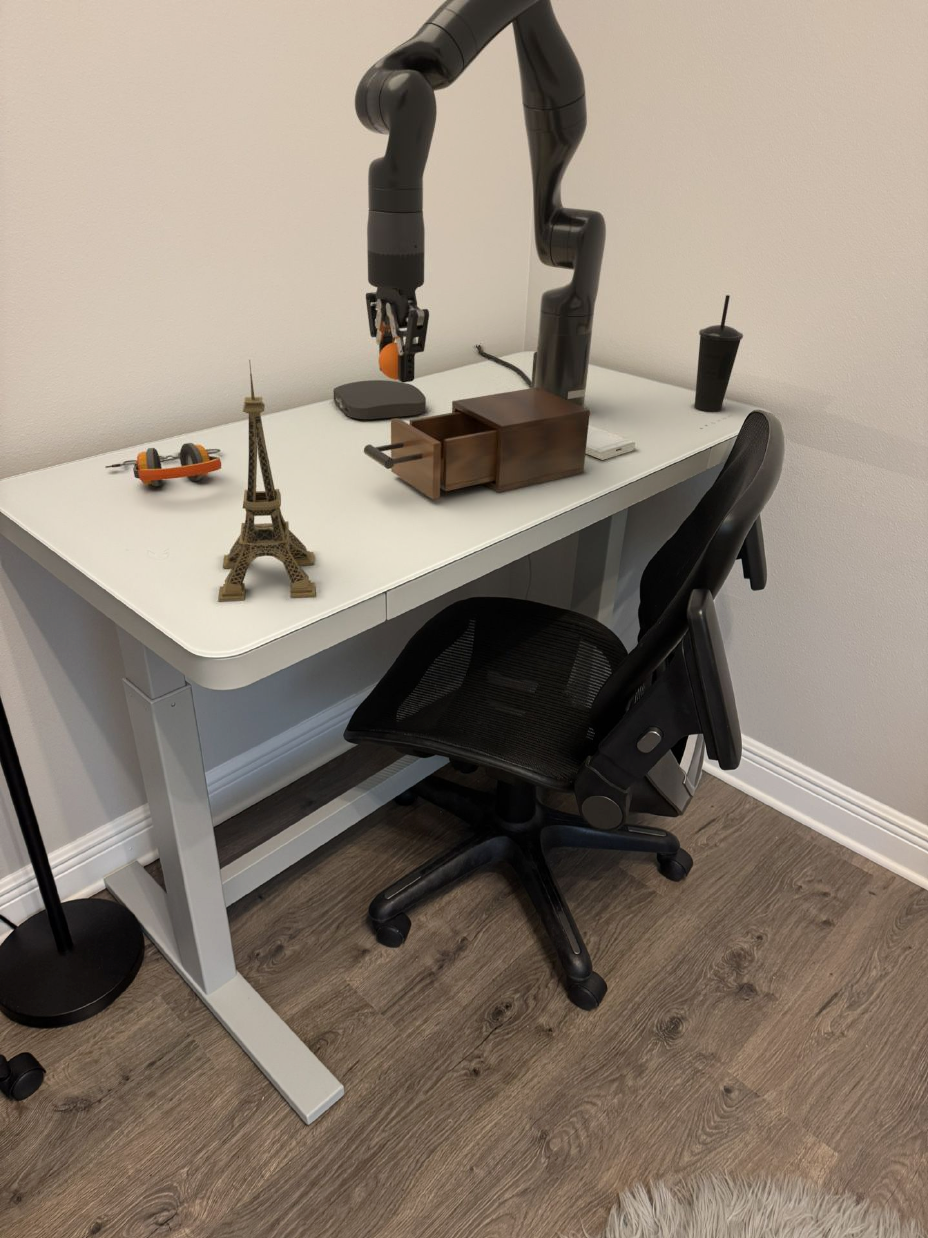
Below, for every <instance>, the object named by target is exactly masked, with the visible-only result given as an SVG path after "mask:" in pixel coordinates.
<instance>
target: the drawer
mask: <svg viewBox="0 0 928 1238" xmlns="http://www.w3.org/2000/svg"><path fill="white" fill-rule="evenodd" d="M497 449H498V430H496V429H494V428H493V427H491V426H489V425H487V424H485V423H483V422H481V421H479V420H477V419H475V418H473V417H471V416H469V415H467V414H465V413H463V412H461V411H459V412H453V413H452V412H447V413H442V414H437V415H431V416H425V417H419V418H412V419H409V423H408V422H406V421H404V420H403V419H400V418H399V417H394V418H391V419H390V444H386V445H379V446H373V445H372V444H366V445H365V446H364V448H363V454H364V455H366V456H367V457H368V458H370V459H372V460H373V461H375V462H376V463H378V464H379V465H381V466H382V467H384V468H385V469H387V470H390V471H391V473H392V474H394V475H396V476H397V477H398V478H400V479H402V481H405V482H406V483H407V484H409V485H411V486H412V487H413V488H415V489H416V490H418V491H420V492H421V493H423V494H424V495H426V496H427V497H428V498H430V499H432V500H436V499H440V498H441V490H443V491H445V492H448V491H452V490H453V491H454V490H458V489H462V488H466V487H471V486H475V485H480V484H483V483H485V482H490V481H494V480H496V466H497ZM386 451H390V456H389V455H387V454H385V452H386Z"/></svg>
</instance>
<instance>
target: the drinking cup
mask: <svg viewBox="0 0 928 1238" xmlns="http://www.w3.org/2000/svg"><path fill="white" fill-rule="evenodd" d="M730 298H731V295H729V294H726V295H725V298H724V304H723V310H722V315H721V321H720V324H714V325H710V326H708V327H705V328H701V329H699V332H698V335H699V345H698V346H699V347H698V360H697V370H696V381H695V383H696V385H695V396H694V408H695V409H697V410H699V411H702V412H707V413H708V412H709V413H714V412H720V411H721V410H722V407H723V404H724V399H725V397H726V393H727V389H728V386H729V382H730V379H731V376H732V371H733V369H734V364H735V361H736V358H737V354H738V350H739V347H740V344H741V341H742V339H743V337H744V334H743V333H742V332H741V331H738V329H736V328H734V327H732V326H729V325H726V320H727V315H728V308H729V303H730Z"/></svg>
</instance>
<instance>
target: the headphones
mask: <svg viewBox="0 0 928 1238" xmlns="http://www.w3.org/2000/svg"><path fill="white" fill-rule="evenodd" d="M217 453H221V449H219V448H207V449H206V448H205V447H204V446H203V445H201V444H194V443H193V442H186V443H183V444H182V445H181V447H180V451H179V452H178V453H177V455H178V456H177V455H176V456H173V455H171V454H169V455H166V456H165V457H164V456H162V455H159V452H158V450H157V449H156V448H155V447H148V448H147V449H146V450H145V451H141V452H138V454H137V456H136V459H129V460H124V461H123V463H113V464H111V465H105V467H104V468H105V469H109V468H113V469H114V468H120V467H123V466H126V464H127V463H133V462H134V465H133V468H132V470H133V475H134V478H136V479H139V480H140V481H141V482H142V483H143V484H144V485H152V486H153V487H156V488H157V487H162V484H163V480H172V479H173V480H174V479H180V478H188V479H189V480H190V481H192V482H196V481H200V480H202V478H203V477H205V476H207V475H209V473H213V472H217V471H219V470H221V469H222V461H221V458H220V457H219V456H213V455H212V454H217ZM161 459H162V460H161ZM174 460H180V461H179V462H180V465H181V466H173V467H165V468H162V463H164V462H169V461H174Z"/></svg>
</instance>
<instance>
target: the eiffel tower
mask: <svg viewBox="0 0 928 1238" xmlns="http://www.w3.org/2000/svg"><path fill="white" fill-rule="evenodd" d="M248 361H249V363H251V359H248ZM249 372H250V373H249V377H250V379H249V380H250V396H245V397H244V401H243V407H242V412H243V413H246V414H248V463H247V465H248V466H247V467H248V468H247V489H244V493H243V499H242V500H243V501H242V509H244V511H245V520H244V522H241V528H240V534H239V536H238V537H237V538H236V540H235V542H234V543H233V545H232V546H231V548H230V550H229V553H228V554H224V555H223V562H222V569H231V570H230V571H229V573H228V575H226V578H225V579H224V583H223V584H222V586H219V590H218V597H217V601H218V602H230V601H231V602H233V601H244V600H245V593H246V584H245V582H244V581H245V578H246V574H247V571H248V569H249V566H250V564H251V563H252V562H253V561H255V560H256V559H257V558H261V557H273V558H275V559H276V560H278V561H280V562H281V563H282V564H283V567H284V569H285V572H286V574H287V577H288V579H289V582H290V583H289V592H290V593H289V594H290V595H289V597H290V599H292V598H294V599H295V598H312V597H313V598H315V597H316V582H314V581H312V580H311V579H310V576H309V575H308V574H307V573H306V572H305V571H304V569H303V568H302V567H301V566H310V565H312V566H313V565H315V556H314V555H315V554H314V551H311V550H308V548H307V547H306V545H305V544H304V543H303V542H302V541H301V540H300V539H299V538H298V537H297V536H296V535H295V534H294V533H293V532H292V531H291V530H290V525H289V523H290V522H289V520H287V521H285V518H284V516H283V514H282V510H281V506H282V494H281V491H280V488H275V484H274V479H273V473H272V468H271V464H270V459H269V454H268V449H267V445H266V439H265V433H264V432H265V431H264V427H263V420H262V413H264V412H265V409H266V405H265V403H264V402H263V397H262V396H255V390H254V382H253V374H252V365H251V364H249ZM258 462H259V467H260V472H261V477H262V482H263V483H262V484H263V488H264V490H260V491H259V490H257V472H258V471H257V470H258V469H257V468H258ZM264 516H265V517H266V516H267V517H268V516H270V520H271V522H269V523H255V517H264Z"/></svg>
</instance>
